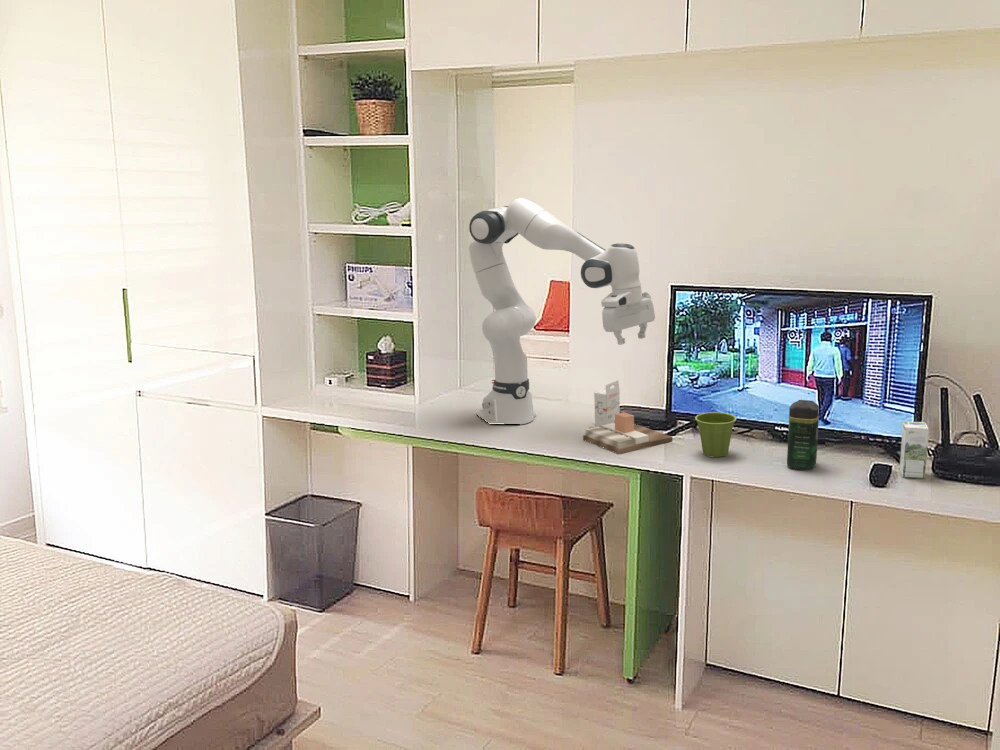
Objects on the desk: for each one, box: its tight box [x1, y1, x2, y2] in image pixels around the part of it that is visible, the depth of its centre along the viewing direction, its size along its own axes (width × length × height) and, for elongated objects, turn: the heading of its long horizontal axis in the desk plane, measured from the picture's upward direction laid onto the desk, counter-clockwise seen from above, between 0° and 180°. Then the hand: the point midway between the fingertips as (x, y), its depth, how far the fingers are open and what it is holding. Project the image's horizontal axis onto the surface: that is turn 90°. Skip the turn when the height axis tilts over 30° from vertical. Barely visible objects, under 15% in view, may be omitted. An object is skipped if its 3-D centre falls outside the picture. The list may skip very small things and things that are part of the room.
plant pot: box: [694, 411, 738, 458], centre depth 276 cm, size 12×12×11 cm
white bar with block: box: [602, 411, 648, 444], centre depth 292 cm, size 17×5×7 cm, turn 31°
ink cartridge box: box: [593, 379, 621, 427], centre depth 310 cm, size 9×5×15 cm, turn 143°
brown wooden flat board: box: [582, 423, 673, 455], centre depth 293 cm, size 18×21×4 cm
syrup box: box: [899, 421, 930, 479], centre depth 253 cm, size 6×6×14 cm
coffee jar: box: [786, 399, 820, 471], centre depth 263 cm, size 10×8×19 cm
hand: (631, 341), depth 289 cm, fingers open, 8 cm apart
